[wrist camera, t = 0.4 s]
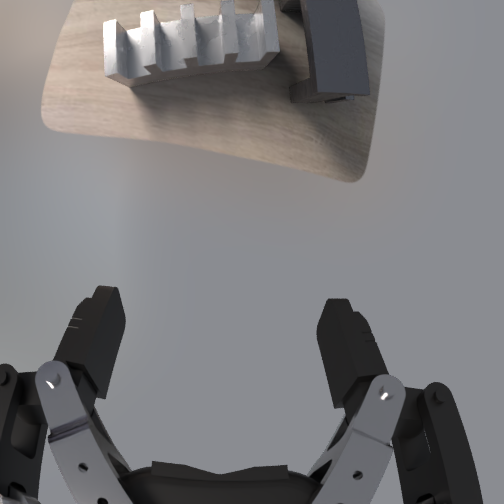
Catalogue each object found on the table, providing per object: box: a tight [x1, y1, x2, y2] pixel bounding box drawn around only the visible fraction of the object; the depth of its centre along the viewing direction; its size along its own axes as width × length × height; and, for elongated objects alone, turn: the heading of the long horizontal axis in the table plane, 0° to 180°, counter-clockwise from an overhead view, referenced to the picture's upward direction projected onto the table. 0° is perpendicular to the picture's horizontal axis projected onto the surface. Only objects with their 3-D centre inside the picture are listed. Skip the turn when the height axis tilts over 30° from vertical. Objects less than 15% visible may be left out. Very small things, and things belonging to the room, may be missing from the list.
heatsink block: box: [104, 0, 280, 88], centre depth 23 cm, size 6×16×9 cm, turn 95°
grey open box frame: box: [279, 0, 370, 103], centre depth 23 cm, size 15×6×12 cm, turn 5°
